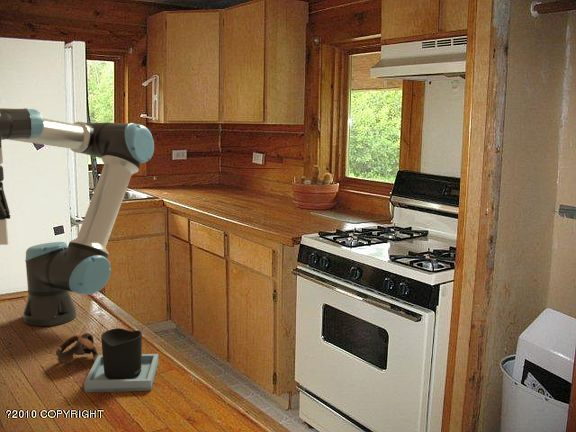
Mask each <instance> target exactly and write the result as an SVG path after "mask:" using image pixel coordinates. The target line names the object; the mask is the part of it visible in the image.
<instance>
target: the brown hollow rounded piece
mask: <svg viewBox="0 0 576 432" xmlns="http://www.w3.org/2000/svg"><path fill="white" fill-rule="evenodd" d="M94 342H95V341H94V336H93V335H92V334H91V333H89V332H85V333H83V334H82V335H80V334H75V335H72V336H70V337H69V338H67V339H66V340H65V341H63V342H62V343H61V344H60V345H59V348H58V349H57V350H56V351H55V356H57V362H58V363H59V364H65V363H68V362H70V363H74V355H76V356H83V355H87V354H88V355H90V354H92V357H93V358H92V362H93V363H94V362H95V360H96V358H97V356H98V355H99V353H98V351H97V348H96V346H95V345H94ZM74 343H75V344H74ZM72 344H74V345H73V346H72V347H71V348H69V349H68V350H67V348H68V347H70V346H71V345H72ZM65 350H66V351H65Z"/></svg>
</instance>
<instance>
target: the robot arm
mask: <svg viewBox="0 0 576 432" xmlns="http://www.w3.org/2000/svg"><path fill="white" fill-rule="evenodd" d="M153 138H154V137H153V135H152V132H151V131H150V130H149V128H148V127H147V126H144V125H142V124H139V123H134V122H130V123H129V122H128V123H125V122H124V123H122V122H83V121H75V122H74V123H71V122H64V121H59V120H53V119H48V118H44V117H43V115H42V114H41V113H40V111H38V110H37V109H35V108H25V107H24V108H5V107H4V108H2V107H1V108H0V246H1V245H2V246H3V245H5V246H7V245H9V236H8V222H7V220H9V219H11V212H10V208H9V205H8V201H7V199H6V198H7V197H6V195H5V190H4V183H3V181H4V178H5V177H4V175H5V174H4V167H3V166H2V164H3V163H4V160H3V149H2V140H5V141H6V140H9V141H16V142H23V143H30V144H35V145H36V144H37V145H45V146H53V147H57V148H64V149H65V148H66V149H70V150H71V151H72V152H74V153H76V154H84V155H87V156H91V157H95V158H98V159H101V160H102V163H103V167H102V170H101V173H100V176H99V178H98V181H97V184H96V186H95V189H94V192H93V194H92V197H91V200H90V202H89V205H88V208H87V210H86V213H85V215H84V218H83V220H82V223H81V226H80V229H79V231H78V234H77V237H76V238H74V239H73V240H70V241H69V243H68V245H67V243H66V242H65V241H55V242H53V241H52V242H47V243H40V244H35V245H31V246H30V247H28V248H27V249H26V251H25V260H24V261H25V268H26V270H25V271H26V282H27V295H28V296H27V299H26V302H25V306H24V309H23V313H22V316H23V317H22V318H23V322H24V323H25V324H27V325H30V326H34V327H48V326H49V327H51V326H57V325H61V324H65V323H68V322H70V321H72V320H74V319H75V318H76V317H77V307H76V304H75V302H74V299H73V297H72V295H71V293H75V294H78V295H90V296H91V295H93V294H94V295H95V294H97V292H100V291H101V290H103V289H104V287H105V286H106V285H107V283H108V282H109V280H110V277H111V273H112V269H111V263H110V260H109V259H108V257H109V254H110V253H109V251H108V249H107V244H108V241H109V240H110V236H111V234H112V230H113V228H114V226H115V222H116V219H117V217H118V214H119V212H120V208H121V206H122V202H123V200H124V197H125V195H126V192H127V189H128V187H129V184H130V181H131V178H132V175H134V174H137V173H138V172H140V171H139V170H140V168H141V165H142V164H145V163H147V162H149V161H150V160H151V159H152V157H153V155H154V151H155V141H154V139H153ZM70 292H71V293H70Z"/></svg>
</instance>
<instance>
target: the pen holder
mask: <svg viewBox="0 0 576 432" xmlns="http://www.w3.org/2000/svg"><path fill="white" fill-rule="evenodd" d="M142 333H143V332H142V331H141V330H140V329H139V330H138V329H137V330H128V329H124V328H121V327H120V328H119V327H118V328H117V327H115V328H111V329H109V330H106V331H104V332H103V333H102V334H101V336H100V338H101V350H102V351H101V352H102V355H103V365H104V374H105V376H106V377H107V378H108V379H110V380H119V379H133V378H135V377H137V376H138V375H139V374H140V372H141V362H142V354H143V352H142V351H143V349H142V348H143V347H142V346H143V345H142V344H143V339H142V338H143V334H142Z"/></svg>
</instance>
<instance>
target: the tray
mask: <svg viewBox="0 0 576 432" xmlns="http://www.w3.org/2000/svg"><path fill="white" fill-rule="evenodd" d="M158 366H159V353H142V362H141V372H140V374H139V375H138V376H137V377H135V378H133V379H119V380H110V379H108V378H107V377H106V376H105V374H104V365H103V354H98V356H97V358H96V360H95V362H93V364H92V366H91V369H90V370H89V371H88V374H87V376H86V377H85V380H84V383H83V384H84V386H83V387H84V393H109V392H111V393H112V392H113V393H114V392H115V393H116V392H120V393H121V392H143V391H144V392H151V391H152V388H153V384H154V381H155V377H156V374H157V370H158Z"/></svg>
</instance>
